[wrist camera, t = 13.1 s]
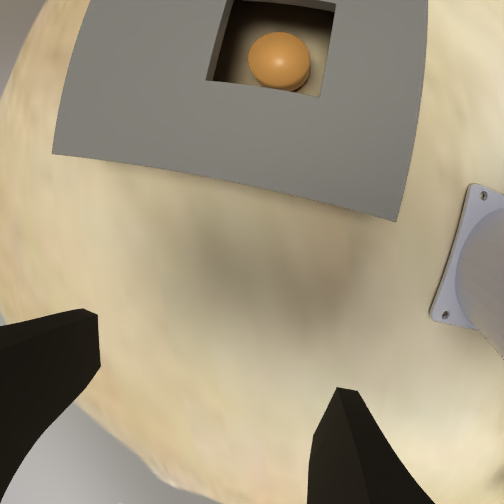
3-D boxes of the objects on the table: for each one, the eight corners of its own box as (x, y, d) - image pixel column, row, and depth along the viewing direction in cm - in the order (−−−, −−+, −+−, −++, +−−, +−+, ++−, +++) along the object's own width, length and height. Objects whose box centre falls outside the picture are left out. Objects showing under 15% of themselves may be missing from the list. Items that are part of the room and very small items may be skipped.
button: (314, 48, 13) (313, 37, 12) (304, 97, 14) (303, 89, 12) (259, 40, 13) (254, 29, 12) (248, 87, 14) (242, 80, 13)
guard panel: (405, 9, 12) (427, -30, 7) (373, 208, 15) (396, 222, 11) (146, -15, 14) (110, -45, 9) (101, 153, 17) (51, 154, 13)
